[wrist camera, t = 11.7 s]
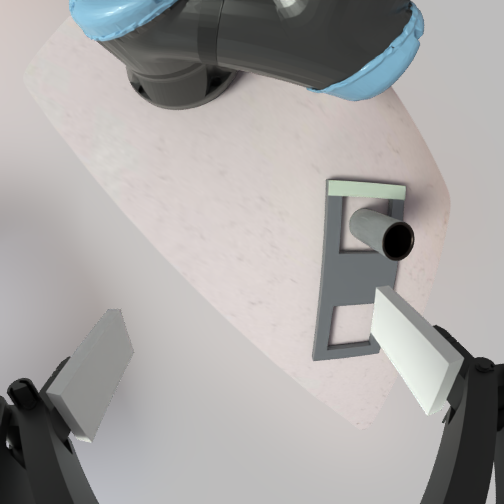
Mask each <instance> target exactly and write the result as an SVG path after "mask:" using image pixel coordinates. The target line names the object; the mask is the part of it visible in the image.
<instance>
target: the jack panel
mask: <svg viewBox="0 0 504 504" xmlns="http://www.w3.org/2000/svg"><path fill="white" fill-rule="evenodd" d="M405 193H406V186H401V185H391V184H381V183H369V182H355V181H340V180H326V200H325V223H324V240H323V255H322V268H321V280H320V291H319V301H318V311H317V320H316V329H315V337H314V345H313V352H312V359H313V361H320V360H330V359H339V358H348V357H356V356H363V355H370V354H377V353H379V351H380V347H381V346H380V345H379V343H378V342H377V341H376V339H375V338H374V336H373V335H372V333H370V337H369V341H368V342H360V343H352V344H343V345H333V346H328V340H329V333H330V326H331V319H332V312H333V306H346V305H360V304H372V303H374V302H375V293H376V287H382V286H388V285H389V286H390V287H391V288H392V289H393V288H394V282H395V276H396V270H397V264H398V261H392V260H390V259H388V258H386V257H385V256H383V255H382V254H380V253H379V252H377V251H351V252H339V245H340V232H341V216H342V196H353V197H371V198H386V199H389V209H388V216H389V217H392V218H395V219H397V220H400V221H403V211H404V200H405Z"/></svg>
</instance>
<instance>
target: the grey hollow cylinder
mask: <svg viewBox="0 0 504 504" xmlns="http://www.w3.org/2000/svg"><path fill="white" fill-rule="evenodd" d="M349 227H350V231H351V233H352V235H353V236H354V237H355V238H357V239H358V240H360V241H362V242H363V243H365V244H366V245H368V246H369V247H371V248H373V249H374V250H376V251H377V252H379V253H380V254H382V255H383V256H385V257H386V258H388V259H390V260H392V261H400V260H402V259H404V258H405V257H407V256H408V255H409V253H410V252H411V250H412V248H413V245H414V232H413V230H412V228H411V227H410V225H408V224H407V223H405V222H403V221H400V220H397V219H395V218H392V217H389V216H386V215H384V214H381V213H378V212H375V211H372V210H369V209H359V210H357V211H356V212H355V213H354V214H353V215H352V217H351V219H350V223H349Z"/></svg>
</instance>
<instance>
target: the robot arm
mask: <svg viewBox="0 0 504 504" xmlns="http://www.w3.org/2000/svg"><path fill="white" fill-rule="evenodd" d="M69 9H70V12H71V15H72V17H73V19H74V21H75V22H76V23H77V24H78V25H79V26H80V27H81V29H82V30H83V31H84V34H85V35H86V36H87V37H89V38H90V39H91V40H92V39H94V41H97V42H98V43H99V44H101V45H102V46H103V47H104V48H106V49H107V50H108V51H109V52H110V53H112V54H113V55H114V56H115V57H117V58H118V59H119V60H120V61H121V62H123V63H124V64H125V65H126V69H127V74H128V78H129V81H130V83H131V85H132V87H133V88H134V90H135V91H136V92H137V93H138V94H139V95H140V96H141V97H142V98H144V99H145V100H146V101H148V102H149V103H151V104H153V105H155V106H157V107H160V108H164V109H170V110H183V109H190V108H194V107H198V106H200V105H203V104H205V103H207V102H209V101H211V100H213V99H214V98H216V97H217V96H219V95H220V94H221V93H222V92H223V91H224V90H225V89H226V88H227V87H228V86H229V85H230V84H231V82H232V81H233V79H234V78H235V76H236V74H237V71H238V70H241V71H245V72H250V73H254V74H259V75H263V76H267V77H271V78H275V79H279V80H282V81H286V82H289V83H293V84H296V85H300V86H303V87H306V88H307V90H309V91H312V92H316V93H326V94H330V95H333V96H336V97H339V98H342V99H345V100H349V101H359V100H364V99H370V98H373V97H375V96H377V95H379V94H381V93H382V92H384V91H385V90H386V89H388V88H389V87H390V86H391V85H392V84H394V83H395V82H396V81H397V80H398V78H399V77H400V76H401V75H402V74H403V73H404V72H405V70H406V69H407V68H408V66H409V65H410V63H411V62H412V60H413V59H414V57H415V55H416V53H417V51H418V49H419V46H420V42H419V41H418V39H419V38H420V37H421V36H422V35H423V32H424V19H423V16H422V14H421V12H420V10H419V9H418V8H417V7H416V5H415V4H414V3H413V2H412V1H410V0H69ZM371 333H372V335H373V336H374V338H375V339H376V341H377V342H378V343H379V345H380V346H381V348H382V349H383V351H384V352H385V353H386V355H387V356H388V358H389V359H390V361H391V362H392V364H393V365H394V366H395V368H396V369H397V371H398V372H399V374H400V375H401V377H402V378H403V380H404V381H405V383H406V384H407V386H408V387H409V389H410V390H411V392H412V393H413V395H414V396H415V398H416V399H417V401H418V402H419V404H420V405H421V407H422V409H423V410H424V412H425V413H426V415H427V416H428V415H431V414H433V413H436V412H438V411H440V410H442V408H443V406H444V404H445V402H446V400H447V401H448V402H449V403H450V405H451V406H450V408H449V410H448V412H447V413H446V415H445V417H444V419H443V421H442V423H444V422H445V420H446V423H445V427H444V431H443V435H442V440H441V444H440V447H439V451H438V454H437V457H436V461H435V464H434V467H433V470H432V473H431V476H430V479H429V482H428V485H427V487H426V490H425V493H424V495H423V498H422V500H421V503H420V504H485V503H486V499H487V494H488V490H489V485H490V480H491V474H492V468H493V462H494V467H495V482H496V504H504V364H498V365H495V364H494V363H493V362H492V361H491V360H489V359H487V358H484V357H477V358H474V357H473V356H472V355H471V354H470V353H469V352H468V351H467V350H466V349H465V348H464V347H463V346H462V345H461V344H460V343H459V342H457V340H456V339H455V338H454V337H452V336H451V335H450V334H449V333H448V332H447V331H446V330H445V329H443V328H441V327H439V326H437V325H435V326H431V324H430V323H429V322H427V321H426V320H425V319H424V318H423V317H422V316H421V315H420V314H419V313H418V312H417V311H416V310H415V309H414V308H413V307H412V306H411V305H410V304H408V303H407V302H406V301H405V300H404V299H403V298H402V297H401V296H400V295H399V294H398V293H396V292H395V291H394V290H393V289H392V288H391V287H390V286H389V285H388V286H382V287H376V293H375V302H374V311H373V319H372V326H371ZM133 353H134V351H133V348H132V344H131V341H130V338H129V335H128V332H127V329H126V326H125V322H124V319H123V316H122V312H121V309H108V310H107V311H106V313H105V314H104V315H103V316H102V318H101V319H100V320H99V321H98V323H97V324H96V325H95V326H94V328H93V329H92V330H91V332H90V333H89V334H88V335H87V337H86V338H85V339H84V340H83V342H82V343H81V344H80V346H79V347H78V348H77V350H76V351H75V352H74V354H73V355H72V356H71V357H68V358H66V359H65V360H63V361H62V362H61V363H60V364H59V366H58V367H57V368H56V371H54V372H53V374H52V377H50V378H49V379H48V381H47V382H46V383H45V385H44V386H43V388H42V389H41V390H40V392H39V393H38V391H37V389H36V388H35V386H34V384H33V383H32V381H31V380H30V379H27V378H21V379H18V380H16V381H14V382H13V383H12V384H11V385H10V386H9V388H8V390H7V394H8V395H9V397H10V398H11V400H12V401H13V403H14V405H8V403H7V402H6V400H5V399H4V397H2V396H0V504H99V503H98V501H97V499H96V497H95V495H94V493H93V491H92V489H91V487H90V485H89V483H88V481H87V478H86V476H85V474H84V472H83V469H82V467H81V465H80V462H79V460H78V457H77V455H76V452H75V449H74V447H73V444H72V441H71V440H70V439H69V437H68V436H69V433H70V431H72V433H73V434H74V436H75V437H76V438H77V439H78V440H82V441H86V442H91V443H92V442H93V439H94V437H95V435H96V432H97V430H98V428H99V426H100V423H101V421H102V419H103V417H104V414H105V412H106V410H107V408H108V406H109V403H110V401H111V399H112V397H113V394H114V393H115V391H116V388H117V386H118V384H119V382H120V380H121V378H122V375H123V374H124V372H125V369H126V368H127V366H128V364H129V362H130V360H131V358H132V356H133ZM6 440H7V441H8V443H9V448H7V446H6Z"/></svg>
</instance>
